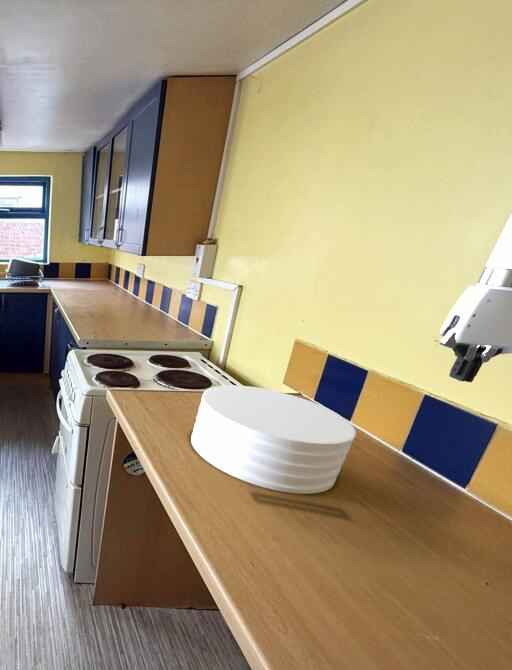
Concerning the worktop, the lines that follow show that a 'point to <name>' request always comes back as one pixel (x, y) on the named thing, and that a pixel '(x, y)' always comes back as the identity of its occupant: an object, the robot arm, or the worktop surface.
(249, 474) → the plate stack
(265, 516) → the worktop surface
